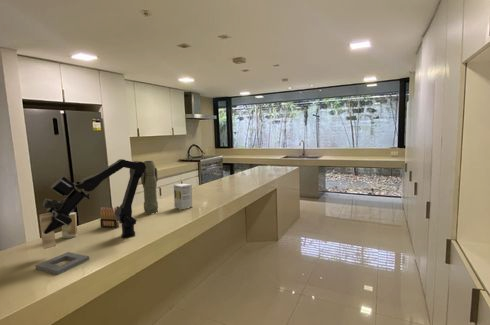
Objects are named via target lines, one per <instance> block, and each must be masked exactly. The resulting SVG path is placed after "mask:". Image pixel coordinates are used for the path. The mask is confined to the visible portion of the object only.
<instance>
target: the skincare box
mask: <svg viewBox="0 0 490 325" xmlns="http://www.w3.org/2000/svg"><path fill="white" fill-rule="evenodd" d="M69 217H70V218H71V219H72V222H71V223H70V224H69V225H67V224H65V225H63V226H61V238H62V239H70V238H77V236H78V223H77V220H78V219H77V212H75V211H74V212H73V211H72V212H71V213H70V214H69Z"/></svg>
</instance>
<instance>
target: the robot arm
mask: <svg viewBox="0 0 490 325" xmlns="http://www.w3.org/2000/svg"><path fill="white" fill-rule="evenodd" d="M144 162H145V161H139V160H134V161H131V160H126V159H123V158H120V159H117V160H116V161H115V162H113V163H111V164H110V165H108V166H106V167H105V168H104V169H102V170H100V171H99V172H97V173H94V174H91V175H88V176H86V177H83V178H81V179H79V181H75V182H71V181H70V180H69V179H68V178H66V177H65V176H62V177H60V178H59V179H57V180H55V181H54V183H53V184H52V185H51V186H50V189H51V190H52V191H54V192H55V193H57V194H58V195H60V196H61V197H64V196H66V197H65V198H64V199H60V201H58V200H57V199H53V198H52V199H49V198H45V199H44V200H43V203H42V205H41V206H42V207H43V208H46V211H47V213H52V214H53V216H51V219H52V221H51V223H50V224H49V225H48V227H47V228H46V230H45V231H44V233H45V234H47V233H49V232H51V231H53V230H54V231H55V230H57V229H58V228H62V226H63V225H65V224H67V225H69V224H70V223H71V222H72V219H71V218H70V217H69V214H70V213H73V211H76V210H77V206H79V204H80V203H82V201H83V200H84V199H87V200H90V199H91V198H90V193H89V192H92V191H94V190H95V189H97V187H99V185H100V184H101V183H102V182H103V181H104V180H105V179H108V178H109V177H111V176H112V175H114V174H115V173H117V172H119V171H120V170H122V169H123V168H124V169H129V178H128V179H129V180H128V181H127V182H128V183H127V186H126V190H125V193H124V197H123V200H122V203H121V204H120V206H116V212H115V213H114V214H115V218H116V219H117V220H118V223H119V224H121V237H120V238H121V239H125V238H131V237H136V230H135V225H136V224H137V219H135V218H133V216H132V215H133V208H132V207H133V206H132V205H133V201H134V198H135V195H136V192H137V188H138V186H139V185H138V184H139V181H140V180H141V176H142V175H143V173H144V171H145V169H146V165H145V163H144Z"/></svg>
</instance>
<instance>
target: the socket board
mask: <svg viewBox="0 0 490 325" xmlns="http://www.w3.org/2000/svg"><path fill="white" fill-rule="evenodd" d="M65 260H67V261H68V262H66V263H63V264H62V265H57V264H59V263H61V262H63V261H65ZM87 261H90V256H89V255H85V254H84V255H83V254H79V253H74V252H69V251H67V252H65V253H63V254H59V255H57V256H55V257H53V258H50V259H48V260H46V261H42V262H41V263H38V264H35V269H36V270H38V271H42V272H45V273H50V274H54V275H57V276H58V275H61V274H63V273H64V272H67V271H69V270H71V269H73V268H75V267H77V266H79V265H81V264H84V263H86V262H87Z"/></svg>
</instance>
